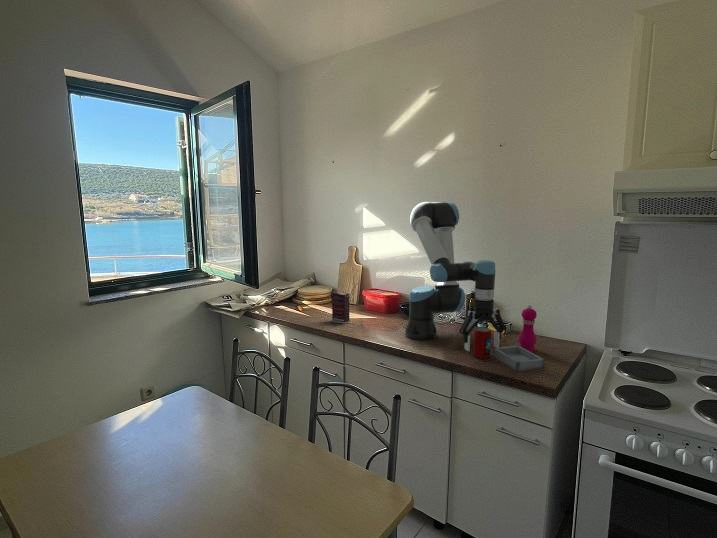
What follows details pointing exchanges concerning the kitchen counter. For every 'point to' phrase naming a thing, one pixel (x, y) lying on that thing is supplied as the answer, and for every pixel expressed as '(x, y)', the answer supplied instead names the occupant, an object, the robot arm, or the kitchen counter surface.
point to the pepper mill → (528, 329)
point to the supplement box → (340, 307)
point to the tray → (518, 358)
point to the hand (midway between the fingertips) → (481, 348)
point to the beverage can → (482, 342)
